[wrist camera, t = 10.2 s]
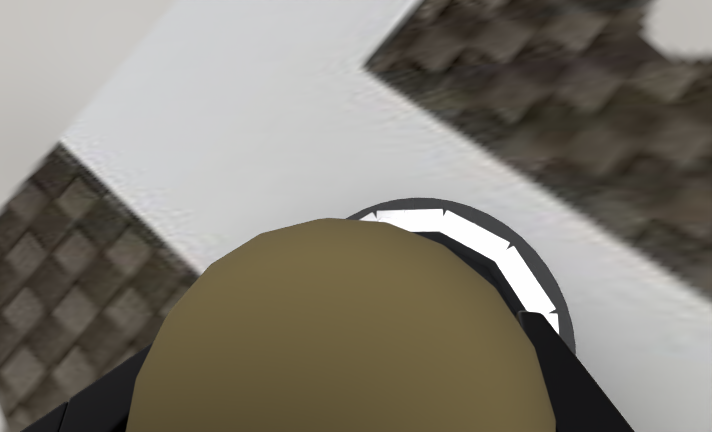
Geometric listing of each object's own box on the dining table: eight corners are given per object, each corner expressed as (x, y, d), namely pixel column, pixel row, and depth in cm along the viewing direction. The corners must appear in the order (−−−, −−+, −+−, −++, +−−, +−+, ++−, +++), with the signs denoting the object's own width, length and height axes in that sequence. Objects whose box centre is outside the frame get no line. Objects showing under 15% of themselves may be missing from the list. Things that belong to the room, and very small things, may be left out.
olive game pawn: (377, 230, 16) (235, 62, 5) (536, 327, 14) (806, 372, 3) (284, 377, 15) (-79, 520, 5) (436, 495, 14) (398, 1135, 3)
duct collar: (585, 516, 16) (620, 571, 13) (275, 482, 19) (236, 520, 15) (560, 196, 18) (584, 171, 15) (289, 204, 21) (258, 184, 18)
